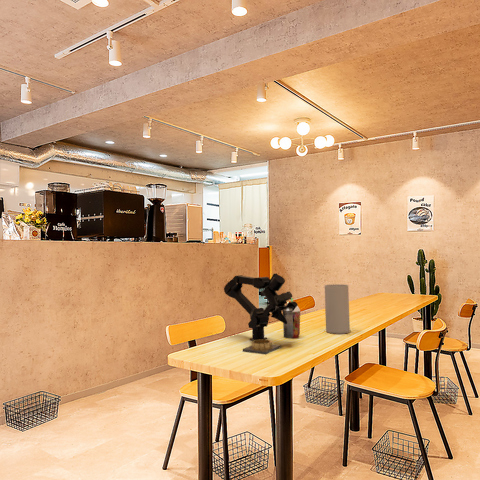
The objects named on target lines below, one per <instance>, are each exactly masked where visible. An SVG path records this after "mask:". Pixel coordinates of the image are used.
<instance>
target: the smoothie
mask: <svg viewBox="0 0 480 480" xmlns="http://www.w3.org/2000/svg"><path fill="white" fill-rule="evenodd" d="M290 300H291V301H290V302H293V301H294V300H293V297H292V298H291V299H290ZM293 317H294V323H293V337H292V338H291V339H296V338H299V337H300V333H301V331H300V329H301V309H300V307H299V305H297V307H296V308H295V309H294V311H293Z"/></svg>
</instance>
